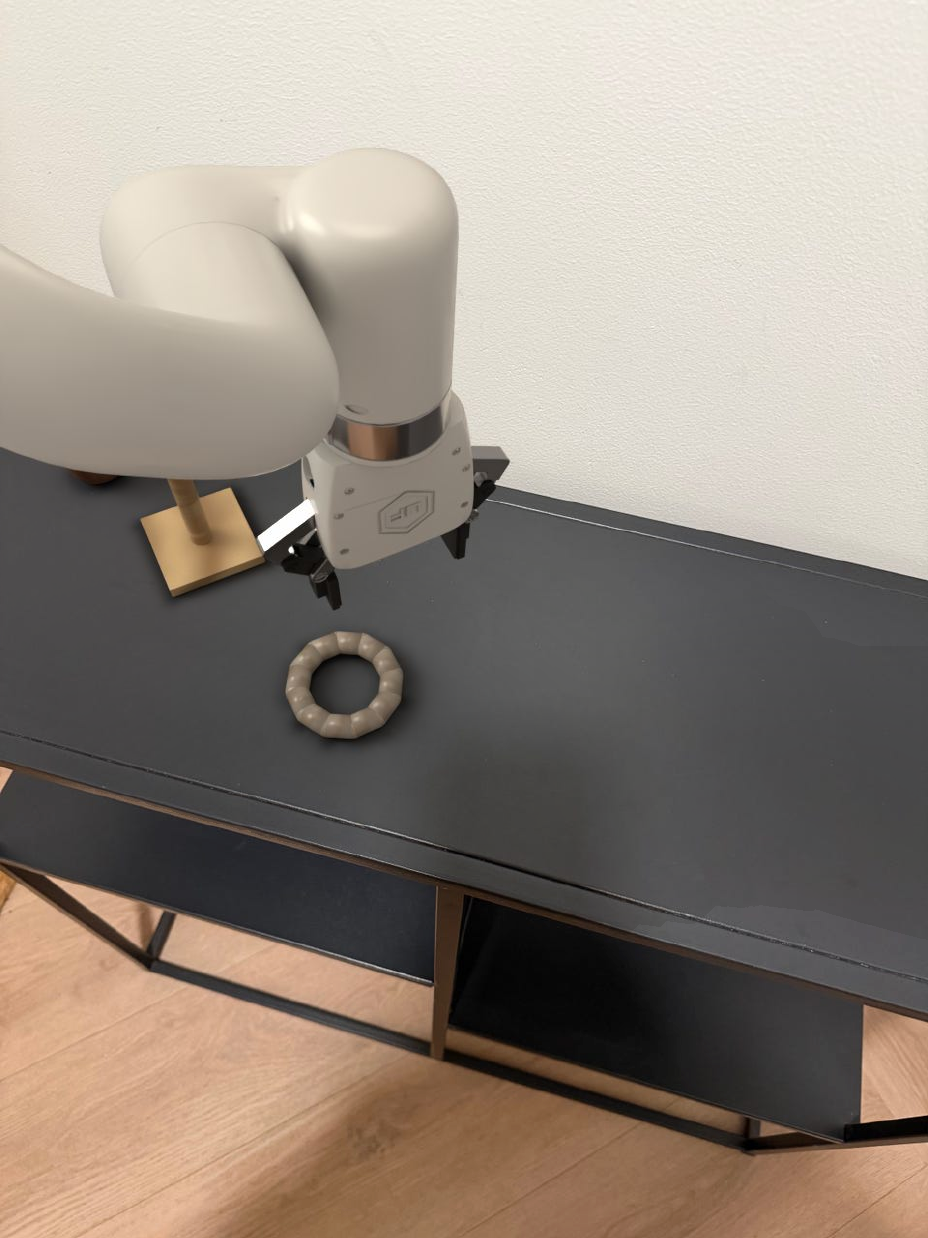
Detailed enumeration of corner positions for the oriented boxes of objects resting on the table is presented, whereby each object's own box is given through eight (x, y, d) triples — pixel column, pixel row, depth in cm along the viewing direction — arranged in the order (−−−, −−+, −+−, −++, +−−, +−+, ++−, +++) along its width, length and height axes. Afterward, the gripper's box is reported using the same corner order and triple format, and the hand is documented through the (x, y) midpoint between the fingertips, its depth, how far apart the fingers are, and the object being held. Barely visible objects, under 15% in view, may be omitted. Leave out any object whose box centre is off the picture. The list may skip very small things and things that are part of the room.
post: (173, 597, 77) (132, 510, 66) (143, 525, 81) (99, 432, 70) (265, 562, 80) (241, 472, 68) (232, 494, 84) (204, 399, 72)
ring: (315, 760, 70) (312, 752, 69) (271, 665, 75) (268, 654, 73) (421, 712, 73) (421, 702, 71) (373, 622, 77) (372, 611, 76)
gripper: (255, 501, 42) (298, 657, 57) (553, 393, 46) (520, 564, 61) (205, 400, 45) (258, 573, 60) (489, 308, 49) (472, 490, 64)
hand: (391, 568), depth 60 cm, fingers open, 9 cm apart
